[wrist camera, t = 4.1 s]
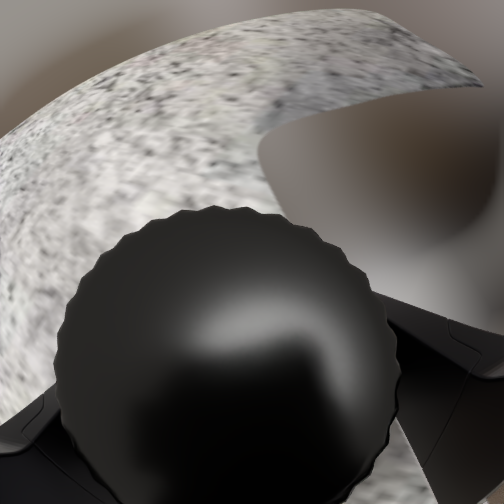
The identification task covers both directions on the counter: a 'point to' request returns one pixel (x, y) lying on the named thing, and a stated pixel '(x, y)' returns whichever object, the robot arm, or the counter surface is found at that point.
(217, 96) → the counter surface
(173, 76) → the counter surface
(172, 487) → the supplement bottle
